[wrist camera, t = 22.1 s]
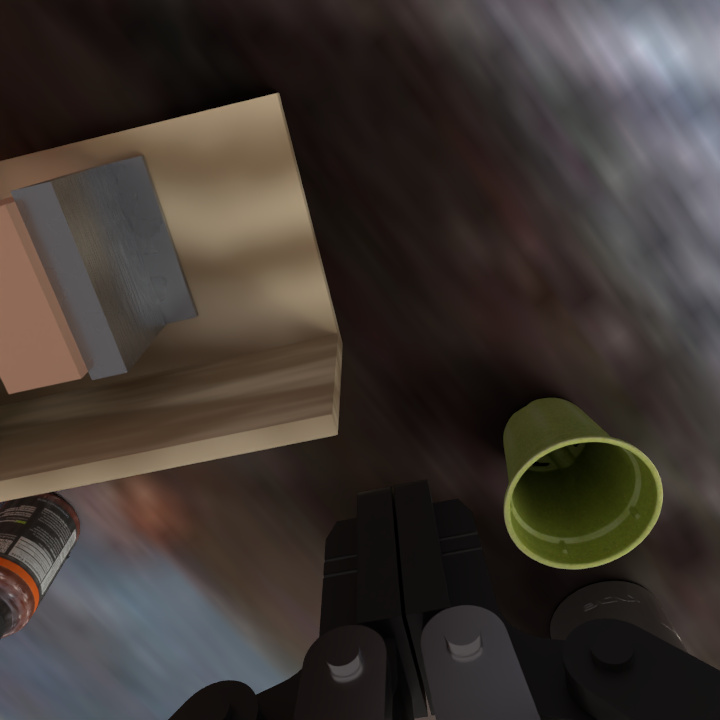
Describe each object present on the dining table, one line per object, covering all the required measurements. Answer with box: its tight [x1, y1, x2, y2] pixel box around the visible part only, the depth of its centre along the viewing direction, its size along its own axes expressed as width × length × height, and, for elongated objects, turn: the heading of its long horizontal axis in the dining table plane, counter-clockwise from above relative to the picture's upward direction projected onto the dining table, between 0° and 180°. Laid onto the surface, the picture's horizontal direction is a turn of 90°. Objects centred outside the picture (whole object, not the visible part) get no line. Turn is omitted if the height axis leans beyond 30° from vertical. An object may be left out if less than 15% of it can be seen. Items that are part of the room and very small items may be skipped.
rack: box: [0, 93, 343, 502], centre depth 35 cm, size 16×25×12 cm, turn 103°
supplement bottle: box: [0, 493, 80, 639], centre depth 43 cm, size 6×6×11 cm
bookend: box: [11, 155, 199, 380], centre depth 35 cm, size 10×4×8 cm, turn 13°
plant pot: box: [503, 398, 663, 569], centre depth 42 cm, size 9×9×9 cm
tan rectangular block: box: [0, 196, 88, 394], centre depth 35 cm, size 4×9×9 cm, turn 13°
